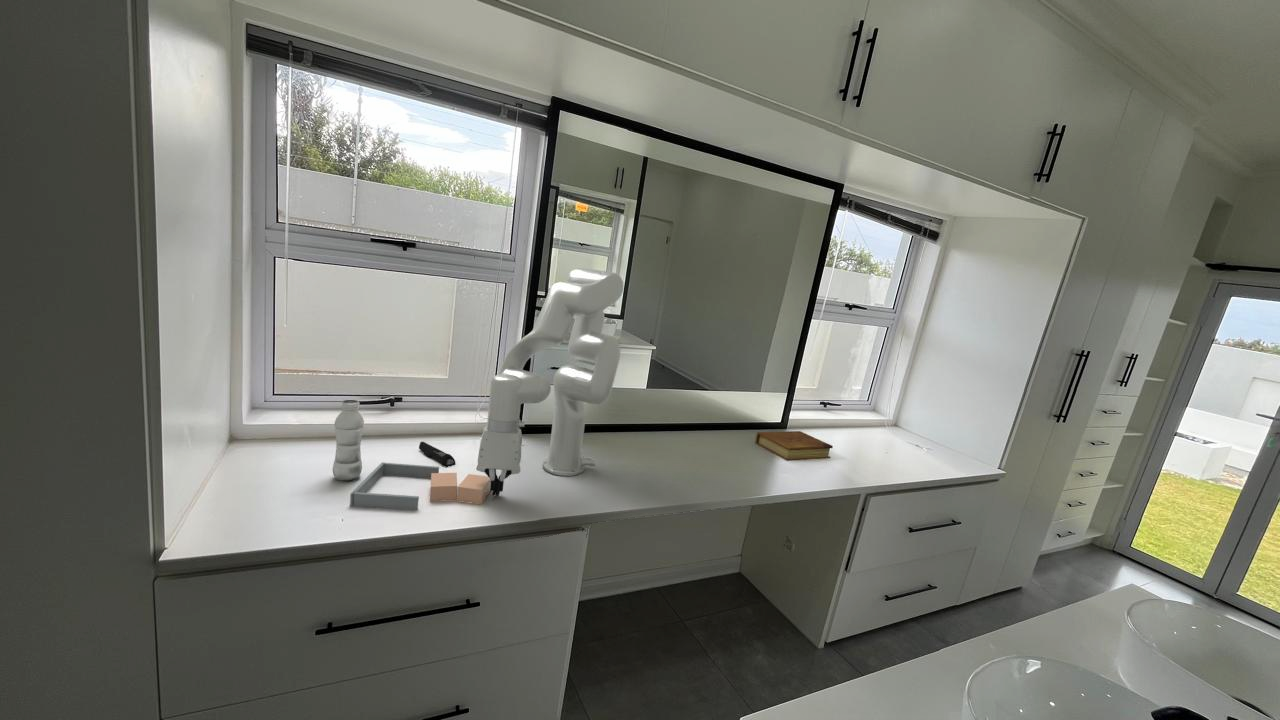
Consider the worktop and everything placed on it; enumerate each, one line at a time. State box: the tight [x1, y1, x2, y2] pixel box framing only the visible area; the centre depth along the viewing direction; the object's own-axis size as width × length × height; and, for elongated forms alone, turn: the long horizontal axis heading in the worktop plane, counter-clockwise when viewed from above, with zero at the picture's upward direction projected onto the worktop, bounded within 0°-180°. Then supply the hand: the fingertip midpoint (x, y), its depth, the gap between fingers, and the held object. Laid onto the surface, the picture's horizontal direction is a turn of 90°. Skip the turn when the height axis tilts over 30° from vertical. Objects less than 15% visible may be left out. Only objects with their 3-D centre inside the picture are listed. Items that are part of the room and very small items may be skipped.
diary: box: [754, 430, 834, 462], centre depth 197 cm, size 23×19×6 cm
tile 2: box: [456, 473, 491, 505], centre depth 123 cm, size 6×8×4 cm
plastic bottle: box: [332, 399, 365, 481], centre depth 122 cm, size 6×7×20 cm
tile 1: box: [429, 472, 458, 502], centre depth 122 cm, size 6×8×4 cm
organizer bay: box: [349, 462, 440, 511], centre depth 120 cm, size 14×18×3 cm
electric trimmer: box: [418, 441, 457, 468], centre depth 143 cm, size 4×16×3 cm, turn 53°
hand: (496, 493), depth 124 cm, fingers closed
